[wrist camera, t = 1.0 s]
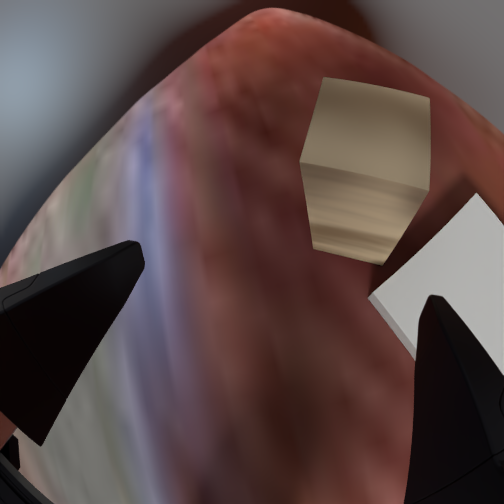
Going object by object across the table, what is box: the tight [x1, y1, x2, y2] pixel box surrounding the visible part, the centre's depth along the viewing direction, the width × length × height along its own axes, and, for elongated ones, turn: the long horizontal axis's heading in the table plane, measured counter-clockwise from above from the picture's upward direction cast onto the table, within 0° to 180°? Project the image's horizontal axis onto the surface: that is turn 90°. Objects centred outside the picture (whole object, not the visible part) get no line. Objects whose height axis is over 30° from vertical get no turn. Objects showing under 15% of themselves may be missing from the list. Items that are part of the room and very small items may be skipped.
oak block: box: [299, 77, 431, 266], centre depth 18 cm, size 6×6×12 cm
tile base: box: [368, 193, 504, 375], centre depth 18 cm, size 12×12×2 cm
